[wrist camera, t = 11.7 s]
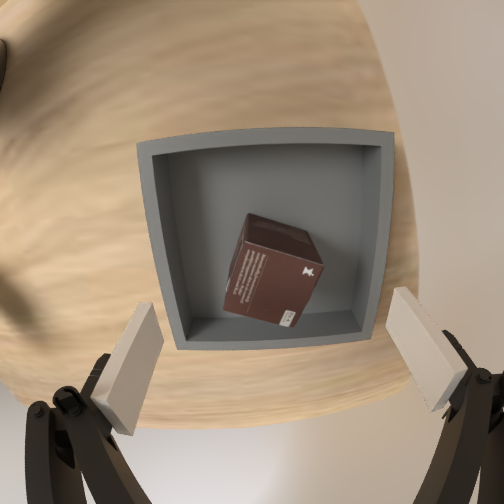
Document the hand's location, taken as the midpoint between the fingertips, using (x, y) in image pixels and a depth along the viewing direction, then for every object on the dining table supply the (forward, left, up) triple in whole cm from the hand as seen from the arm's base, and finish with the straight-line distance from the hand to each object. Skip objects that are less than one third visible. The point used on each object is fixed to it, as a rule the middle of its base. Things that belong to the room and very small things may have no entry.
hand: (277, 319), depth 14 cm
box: (+1, 0, -13) cm, 13 cm away
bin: (0, 0, -13) cm, 13 cm away
